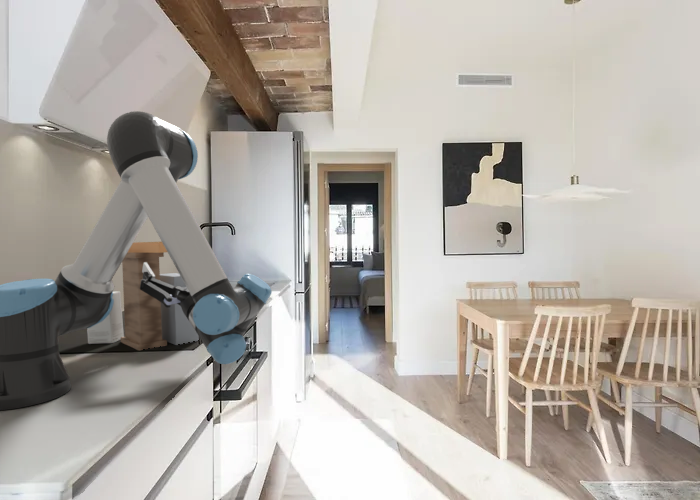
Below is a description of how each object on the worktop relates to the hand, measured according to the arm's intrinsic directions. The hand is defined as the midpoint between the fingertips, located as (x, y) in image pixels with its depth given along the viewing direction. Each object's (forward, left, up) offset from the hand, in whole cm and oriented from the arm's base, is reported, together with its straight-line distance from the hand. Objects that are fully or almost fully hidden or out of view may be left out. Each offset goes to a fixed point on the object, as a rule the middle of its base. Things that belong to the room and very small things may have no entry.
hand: (170, 265), depth 116 cm
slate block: (+9, +21, -25) cm, 33 cm away
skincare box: (-7, +36, -25) cm, 44 cm away
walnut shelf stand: (0, +23, -25) cm, 33 cm away
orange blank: (0, +18, +3) cm, 18 cm away
